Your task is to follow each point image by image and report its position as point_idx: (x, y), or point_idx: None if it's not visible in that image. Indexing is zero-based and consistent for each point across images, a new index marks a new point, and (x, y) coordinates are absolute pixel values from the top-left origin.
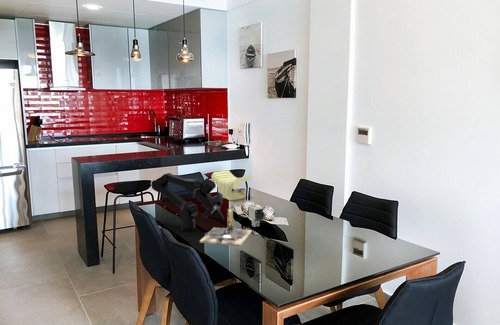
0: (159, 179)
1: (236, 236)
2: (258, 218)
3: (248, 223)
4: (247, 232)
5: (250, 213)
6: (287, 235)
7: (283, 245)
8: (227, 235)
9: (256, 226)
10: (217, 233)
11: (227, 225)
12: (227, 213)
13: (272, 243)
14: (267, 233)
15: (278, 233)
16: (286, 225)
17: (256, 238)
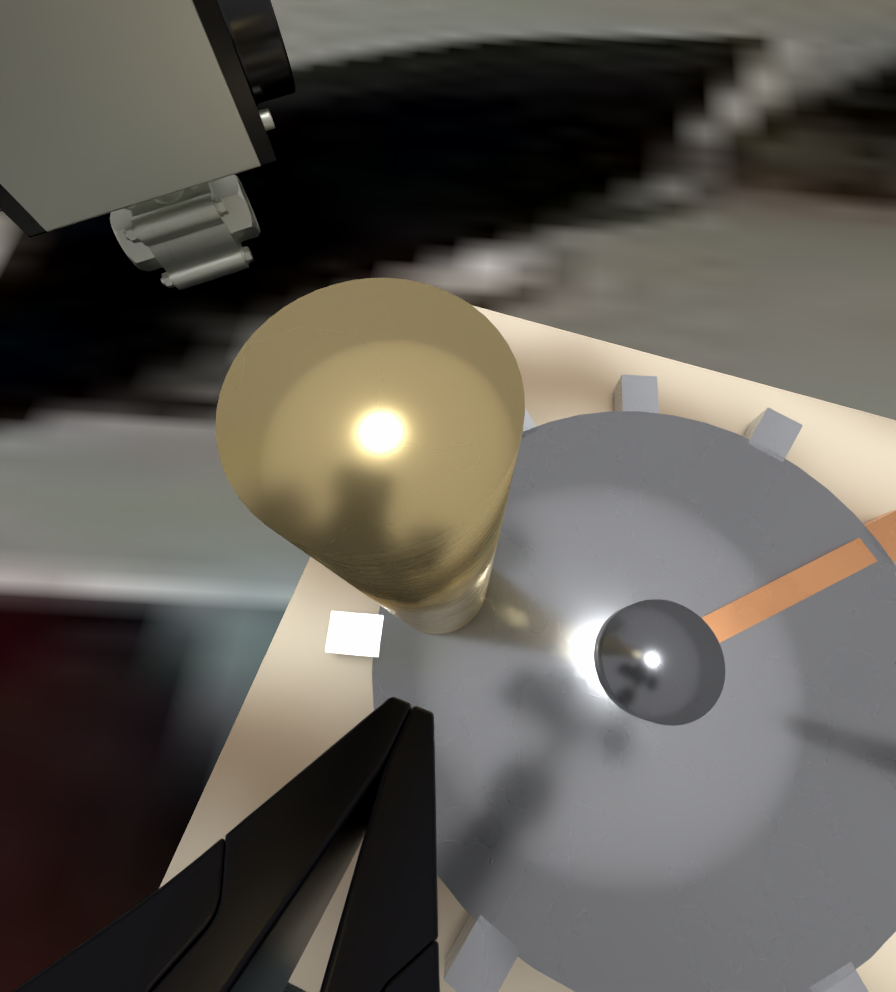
0: None
1: (829, 502)
2: (294, 83)
3: (73, 323)
4: (520, 350)
5: (47, 137)
6: (586, 26)
7: (891, 77)
8: (791, 654)
9: (240, 244)
10: (681, 864)
11: (440, 628)
12: (432, 580)
13: (845, 152)
14: (507, 167)
15: (517, 81)
16: (277, 7)
17: (684, 280)
